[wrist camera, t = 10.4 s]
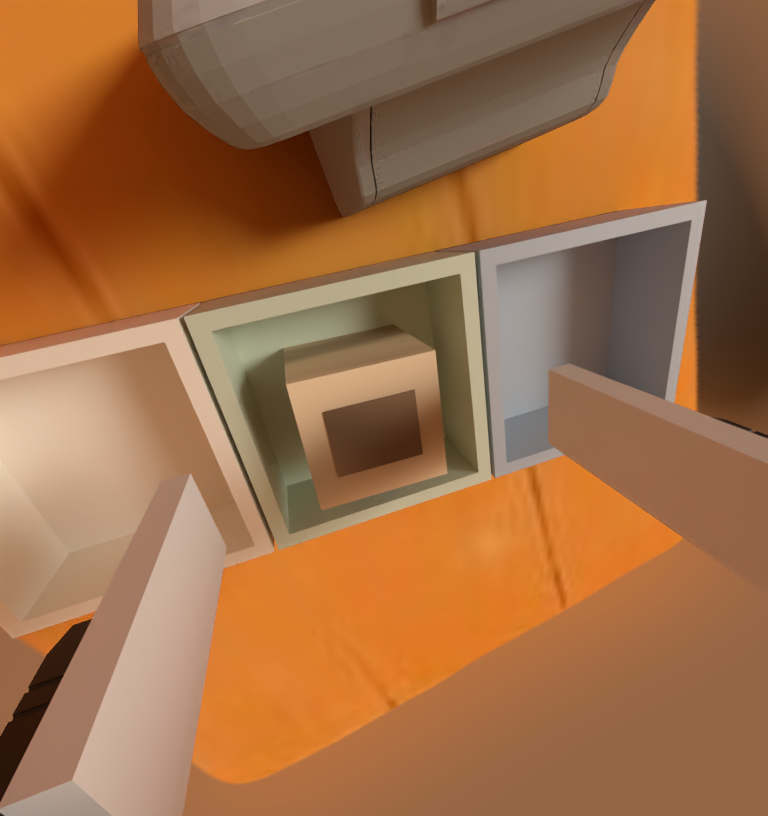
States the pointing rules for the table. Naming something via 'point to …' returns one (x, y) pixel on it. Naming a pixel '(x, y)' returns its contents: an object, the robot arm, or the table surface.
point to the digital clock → (386, 77)
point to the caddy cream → (106, 459)
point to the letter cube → (366, 412)
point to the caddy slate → (581, 314)
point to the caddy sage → (331, 317)
